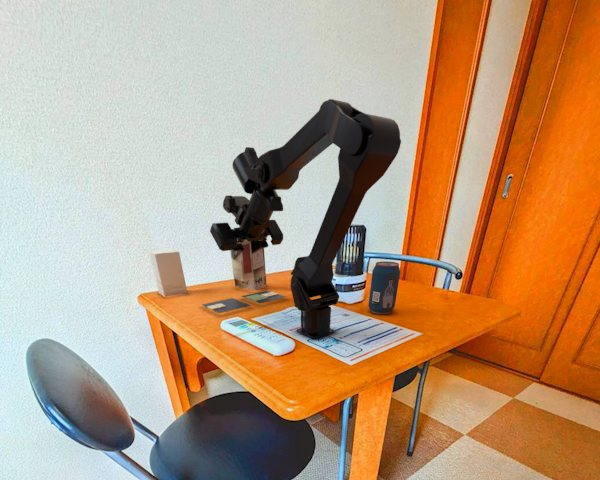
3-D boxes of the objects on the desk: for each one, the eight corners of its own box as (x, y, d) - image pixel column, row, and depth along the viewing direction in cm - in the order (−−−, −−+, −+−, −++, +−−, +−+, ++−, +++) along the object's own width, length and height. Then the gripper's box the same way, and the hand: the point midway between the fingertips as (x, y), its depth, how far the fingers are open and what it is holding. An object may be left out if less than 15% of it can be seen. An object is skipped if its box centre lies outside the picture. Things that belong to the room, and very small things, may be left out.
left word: (251, 308, 87) (250, 304, 86) (219, 316, 82) (218, 311, 81) (232, 301, 93) (232, 296, 93) (201, 308, 88) (201, 303, 87)
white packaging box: (188, 294, 100) (179, 251, 93) (164, 298, 96) (153, 253, 89) (181, 290, 105) (172, 248, 98) (158, 293, 101) (147, 250, 94)
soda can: (377, 305, 89) (383, 260, 82) (398, 310, 84) (406, 263, 78) (362, 310, 85) (367, 263, 78) (384, 316, 80) (392, 267, 74)
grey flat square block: (287, 300, 94) (287, 295, 93) (260, 306, 89) (259, 302, 88) (267, 293, 100) (267, 289, 100) (241, 299, 95) (240, 295, 94)
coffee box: (267, 289, 105) (264, 235, 96) (255, 293, 101) (250, 237, 92) (247, 285, 109) (242, 233, 100) (234, 289, 105) (228, 235, 96)
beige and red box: (254, 279, 87) (250, 235, 80) (243, 281, 85) (239, 236, 78) (244, 276, 90) (239, 233, 84) (233, 278, 88) (228, 234, 82)
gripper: (274, 182, 78) (253, 229, 91) (206, 180, 67) (193, 234, 80) (295, 220, 77) (271, 262, 90) (230, 224, 67) (213, 271, 80)
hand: (238, 256), depth 85 cm, fingers closed on beige and red box, 3 cm apart
